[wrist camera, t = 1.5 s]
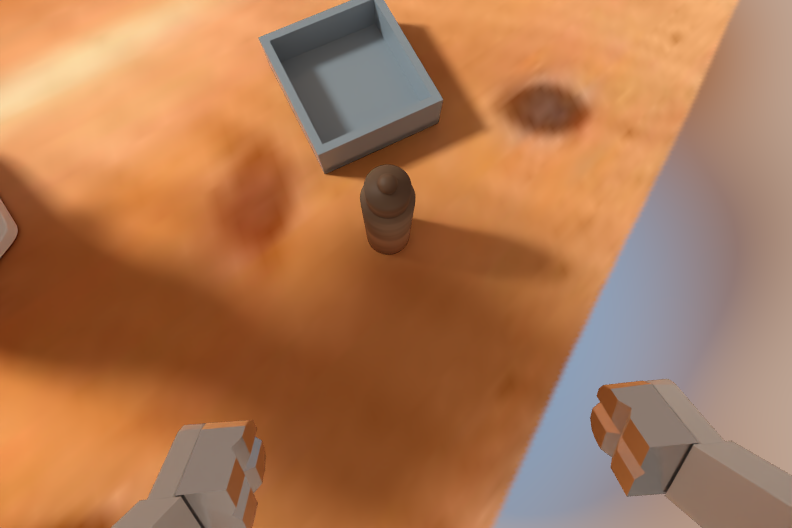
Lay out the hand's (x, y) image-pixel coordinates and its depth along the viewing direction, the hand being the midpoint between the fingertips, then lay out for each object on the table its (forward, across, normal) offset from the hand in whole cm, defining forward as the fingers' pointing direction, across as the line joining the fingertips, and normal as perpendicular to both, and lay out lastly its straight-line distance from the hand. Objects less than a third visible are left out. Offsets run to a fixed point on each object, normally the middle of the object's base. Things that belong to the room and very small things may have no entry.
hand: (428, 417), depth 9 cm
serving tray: (+38, +3, -2) cm, 38 cm away
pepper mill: (+27, 0, +9) cm, 29 cm away
